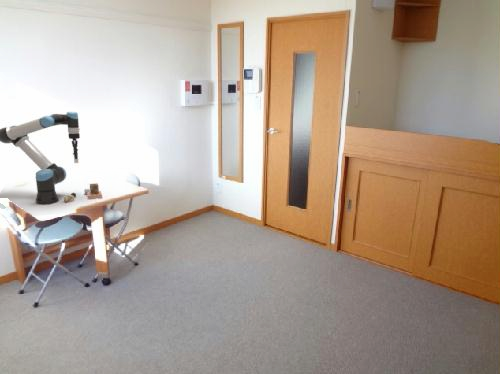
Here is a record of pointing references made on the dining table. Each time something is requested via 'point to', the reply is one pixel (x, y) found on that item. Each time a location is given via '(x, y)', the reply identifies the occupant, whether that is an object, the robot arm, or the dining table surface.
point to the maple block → (68, 198)
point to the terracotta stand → (94, 195)
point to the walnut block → (94, 188)
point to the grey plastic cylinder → (86, 191)
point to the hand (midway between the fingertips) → (76, 161)
